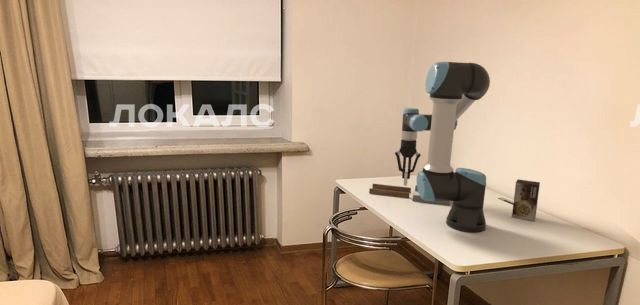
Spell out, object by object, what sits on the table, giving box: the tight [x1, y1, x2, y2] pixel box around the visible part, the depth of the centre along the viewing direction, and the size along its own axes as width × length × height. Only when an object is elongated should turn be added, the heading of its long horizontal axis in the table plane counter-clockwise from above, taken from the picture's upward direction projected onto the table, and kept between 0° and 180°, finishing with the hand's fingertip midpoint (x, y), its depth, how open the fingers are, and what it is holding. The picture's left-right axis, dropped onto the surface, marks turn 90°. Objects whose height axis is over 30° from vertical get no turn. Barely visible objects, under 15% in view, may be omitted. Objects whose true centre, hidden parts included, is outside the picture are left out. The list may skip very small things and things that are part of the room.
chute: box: [368, 183, 412, 199], centre depth 200 cm, size 11×20×2 cm, turn 73°
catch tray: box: [412, 184, 451, 206], centre depth 194 cm, size 19×17×3 cm
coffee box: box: [511, 178, 541, 222], centre depth 169 cm, size 9×6×16 cm
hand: (405, 184), depth 198 cm, fingers closed
